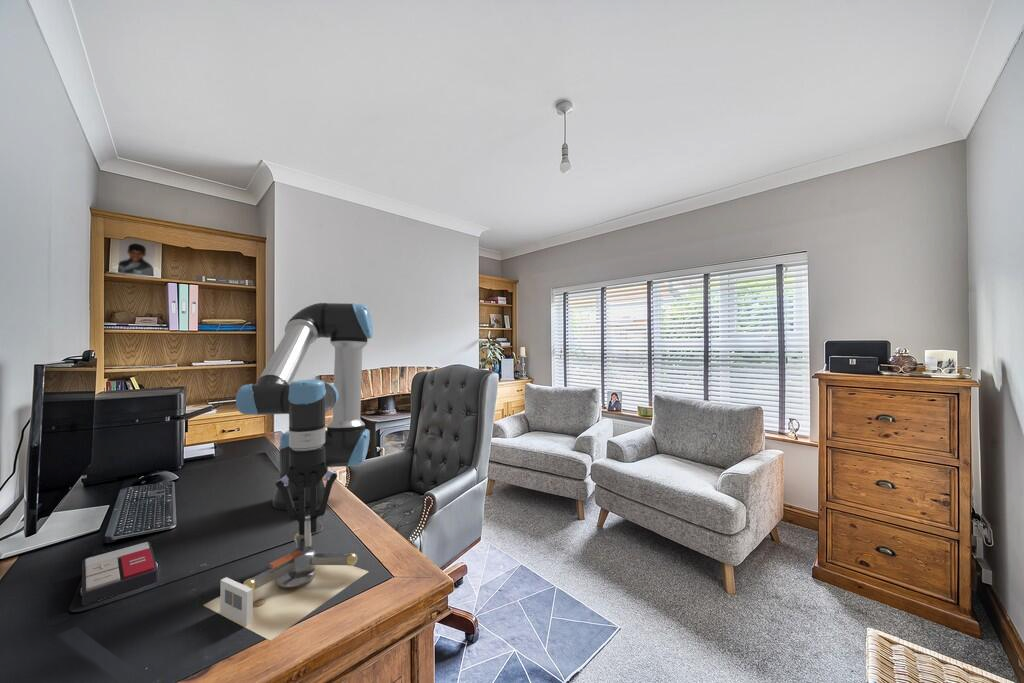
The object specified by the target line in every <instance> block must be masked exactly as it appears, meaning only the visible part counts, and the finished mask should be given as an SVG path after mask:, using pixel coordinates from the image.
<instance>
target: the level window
mask: <svg viewBox="0 0 1024 683" xmlns="http://www.w3.org/2000/svg"><path fill="white" fill-rule="evenodd" d="M219 589H220V593H219V594H220V612H221V613H223V614H225V615H226V616H228V617H230V618H232V619H234V620H236V621H238V622H240V623H242V624H244V625H246V626H248V625H249V624H251V623H252V622H253V589H252V588H249V587H247V586H245V585H243V583H241V582H239V581H235V580H233V579H231V578H230V577H228V576H226V577H224V578H222V579H220V588H219Z"/></svg>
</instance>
